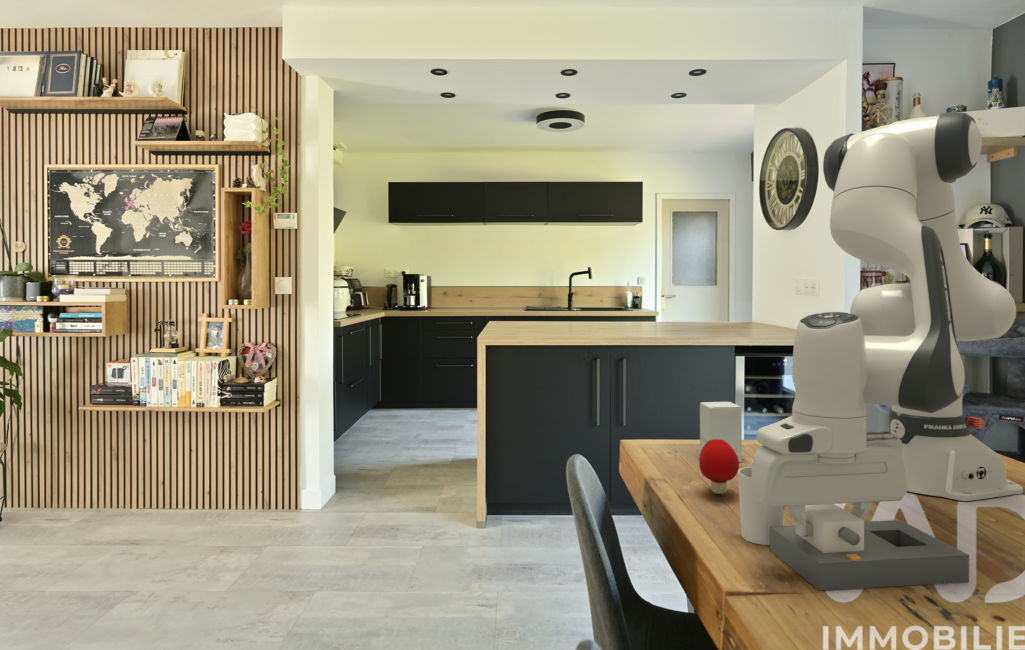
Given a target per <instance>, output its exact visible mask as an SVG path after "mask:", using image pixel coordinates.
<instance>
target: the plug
mask: <svg viewBox="0 0 1025 650" xmlns="http://www.w3.org/2000/svg"><path fill="white" fill-rule="evenodd" d="M801 514H802V516H803V518H804V519H805V520H806V521H808V522H809V523H811V524H813V530H812V532H813V536H810V537H802V538H803V539H805V540H806V541H808V542H809V543H810V544H812V545H813V546H815V547H816V548H817V549H819V550H820V551H822V552H823V553H832V552H850V551H864V522H865V519H864V520H862V519H860V518H858V517H857V516H855V515H853V514H851V512H850V511H847V510H846V509H843V508H842V507H840V506H839V505H836V504H823V505H805V513H802V512H801ZM796 534H797V533H796Z"/></svg>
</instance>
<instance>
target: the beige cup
mask: <svg viewBox="0 0 1025 650" xmlns="http://www.w3.org/2000/svg"><path fill="white" fill-rule="evenodd" d="M737 476H738V494H739V495H738V496H739V514H740V515H739V516H740V517H739V518H740V530H741V531H740V533H741V534H740V535H741V537H742V538H743V539H744V540H746V541H747V542H751V543H753V544H756V545H762V546H770V527H771V526H784V514H785V513H784V507H785V506H783V507H767V506H765V505H764V504H762V503H761V502H759V501H758V500H757V499H756V498H755V497H754V495H753V494H752V490H751V476H752V466H747V467H742V468H739V469H738V472H737Z"/></svg>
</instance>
